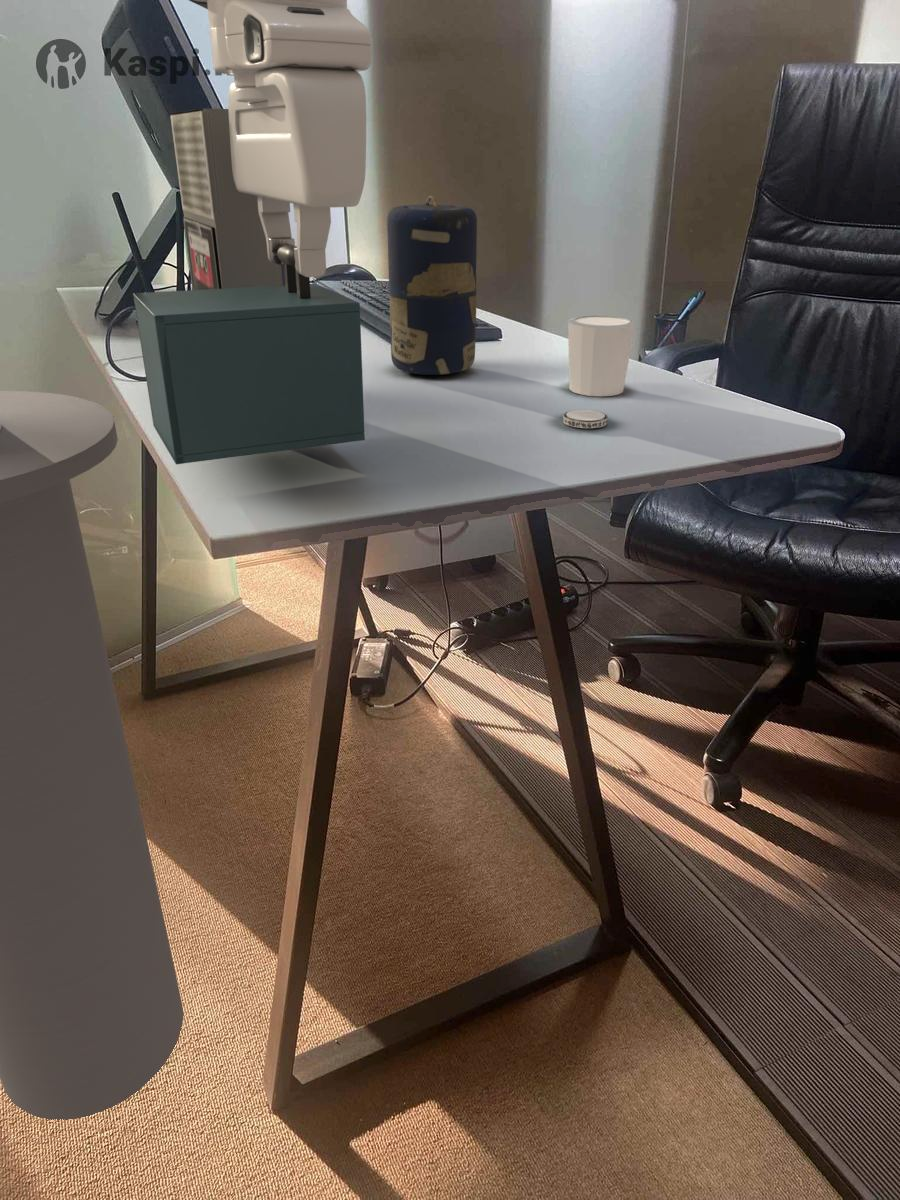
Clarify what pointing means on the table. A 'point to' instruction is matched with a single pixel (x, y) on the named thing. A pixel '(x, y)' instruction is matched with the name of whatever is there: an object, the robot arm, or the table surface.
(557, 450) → the table surface
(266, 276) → the beige tall upright block
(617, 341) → the cream cup
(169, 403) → the dark green lidded box
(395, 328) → the canister
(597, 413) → the washi tape
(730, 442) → the table surface
